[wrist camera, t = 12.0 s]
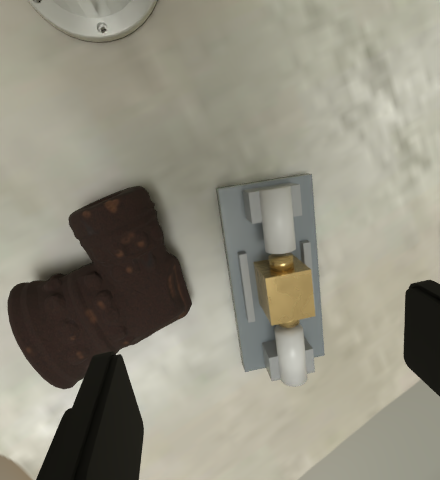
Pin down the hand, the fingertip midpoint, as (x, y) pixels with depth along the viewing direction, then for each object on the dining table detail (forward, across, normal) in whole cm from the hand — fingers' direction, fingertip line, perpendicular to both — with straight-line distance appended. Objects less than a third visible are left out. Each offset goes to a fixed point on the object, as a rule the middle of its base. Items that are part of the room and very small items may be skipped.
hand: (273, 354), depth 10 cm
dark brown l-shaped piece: (+25, +11, +5) cm, 28 cm away
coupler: (+22, -6, +9) cm, 25 cm away
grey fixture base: (+24, -6, +9) cm, 26 cm away
